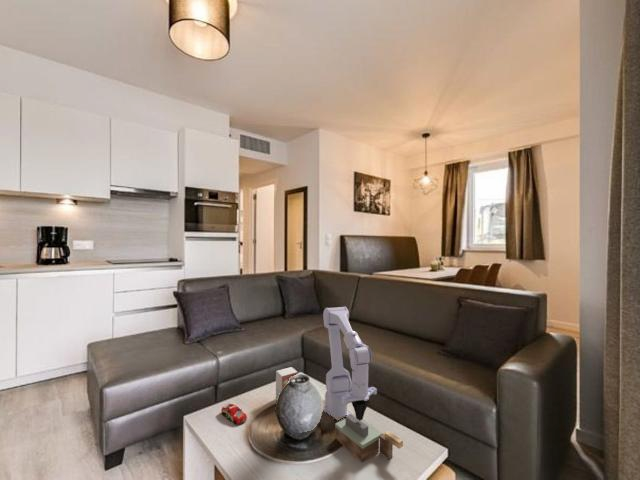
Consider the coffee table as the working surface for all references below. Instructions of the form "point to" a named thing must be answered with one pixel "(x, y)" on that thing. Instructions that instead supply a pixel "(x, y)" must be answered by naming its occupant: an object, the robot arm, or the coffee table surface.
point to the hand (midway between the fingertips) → (359, 418)
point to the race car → (234, 414)
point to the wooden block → (393, 439)
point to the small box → (283, 378)
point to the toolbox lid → (358, 430)
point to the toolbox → (369, 450)
